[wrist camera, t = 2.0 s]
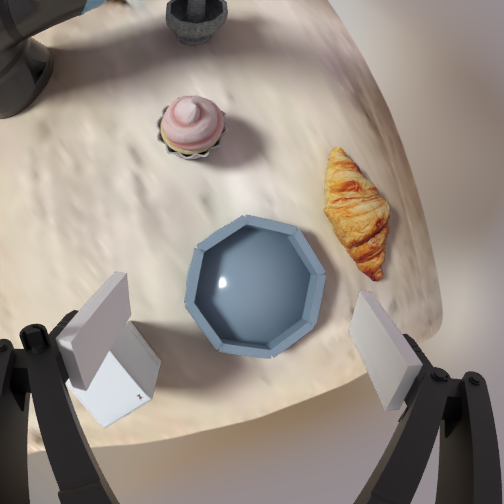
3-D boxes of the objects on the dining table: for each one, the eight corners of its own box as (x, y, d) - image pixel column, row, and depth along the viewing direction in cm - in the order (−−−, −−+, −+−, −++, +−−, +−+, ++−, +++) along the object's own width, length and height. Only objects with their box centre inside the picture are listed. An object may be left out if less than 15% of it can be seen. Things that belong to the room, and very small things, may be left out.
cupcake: (220, 173, 41) (230, 148, 31) (153, 167, 39) (144, 140, 29) (227, 115, 41) (238, 79, 31) (164, 109, 39) (160, 71, 29)
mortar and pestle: (222, 52, 41) (235, 3, 29) (165, 54, 39) (164, 5, 27) (219, 11, 41) (230, -35, 29) (168, 13, 39) (169, -34, 27)
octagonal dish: (160, 268, 39) (157, 269, 35) (270, 196, 42) (277, 191, 39) (235, 373, 40) (239, 382, 37) (334, 300, 44) (345, 303, 40)
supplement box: (130, 318, 38) (107, 342, 25) (163, 361, 38) (154, 401, 26) (92, 345, 36) (58, 377, 24) (124, 387, 37) (104, 431, 25)
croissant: (306, 161, 47) (301, 151, 40) (362, 142, 44) (368, 129, 37) (347, 284, 48) (350, 297, 40) (403, 265, 45) (416, 274, 37)
